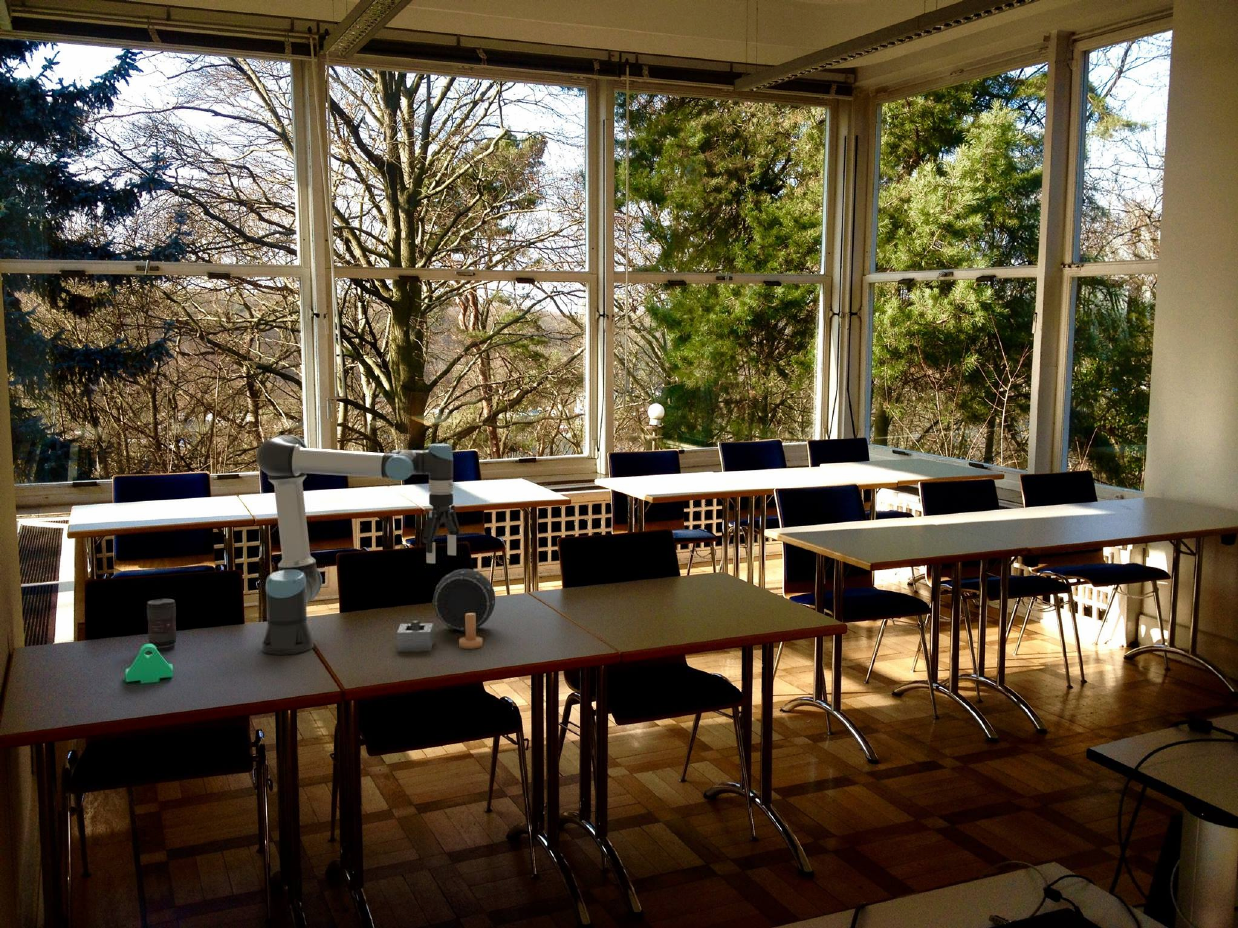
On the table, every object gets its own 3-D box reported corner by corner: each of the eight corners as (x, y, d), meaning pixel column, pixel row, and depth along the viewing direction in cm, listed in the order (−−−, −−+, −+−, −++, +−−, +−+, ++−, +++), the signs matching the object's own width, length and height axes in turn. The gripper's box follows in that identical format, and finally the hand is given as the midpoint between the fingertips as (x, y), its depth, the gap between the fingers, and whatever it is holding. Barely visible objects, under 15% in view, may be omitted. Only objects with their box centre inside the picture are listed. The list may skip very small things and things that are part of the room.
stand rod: (410, 647, 328) (410, 622, 327) (411, 645, 331) (411, 620, 330) (419, 647, 329) (419, 622, 328) (420, 645, 331) (420, 620, 330)
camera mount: (172, 672, 304) (171, 637, 303) (173, 680, 297) (171, 644, 296) (126, 677, 299) (124, 641, 298) (126, 685, 292) (124, 649, 291)
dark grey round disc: (492, 634, 344) (492, 573, 342) (431, 633, 345) (430, 573, 342) (497, 625, 355) (496, 566, 353) (437, 624, 355) (436, 566, 353)
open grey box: (397, 651, 325) (396, 632, 324) (401, 642, 334) (400, 623, 334) (430, 650, 325) (430, 631, 325) (433, 641, 335) (433, 623, 335)
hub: (458, 649, 327) (457, 617, 326) (459, 642, 335) (459, 611, 333) (481, 648, 328) (481, 616, 327) (482, 642, 335) (482, 611, 334)
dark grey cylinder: (182, 648, 327) (180, 600, 325) (156, 654, 321) (154, 605, 319) (169, 643, 332) (167, 596, 331) (143, 649, 326) (141, 601, 324)
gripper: (431, 498, 323) (432, 567, 325) (470, 488, 346) (470, 552, 349) (410, 497, 325) (411, 565, 328) (449, 487, 349) (450, 550, 351)
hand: (441, 558), depth 338 cm, fingers open, 13 cm apart
